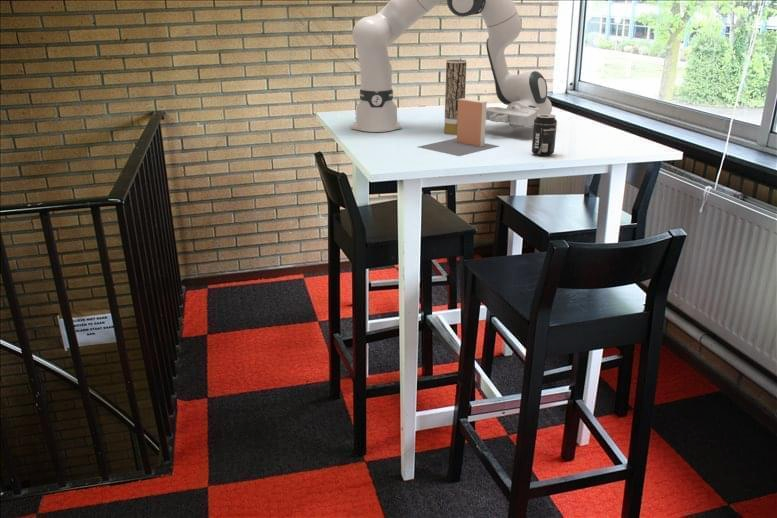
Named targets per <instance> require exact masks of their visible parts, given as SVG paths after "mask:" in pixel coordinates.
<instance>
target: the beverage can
mask: <svg viewBox="0 0 777 518" xmlns="http://www.w3.org/2000/svg"><path fill="white" fill-rule="evenodd" d="M557 126H558V121H557V119H556V115H555V114H552V113H551V114H538V115H537V117H536V119H535V120H534V126H533V127H532V139H531V140H532V141H531V153H532V154H533V155H534V156H536V155H538V157H550V156H551V155H553V154H554V153H555V147H556V146H555V145H556V137H557V136H556V135H557Z"/></svg>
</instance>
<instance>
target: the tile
mask: <svg viewBox="0 0 777 518" xmlns="http://www.w3.org/2000/svg"><path fill="white" fill-rule="evenodd" d="M486 108H487V101H484V100H476V99H470V98H465V99H464V98H461V99H458V121H457V135H456V138H457V142H460V143H465V144H470V145H475V146H480V147H481V146H484V143H486V142H485V141H486V124H487V123H486V122H487V120H486Z"/></svg>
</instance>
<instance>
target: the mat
mask: <svg viewBox="0 0 777 518" xmlns="http://www.w3.org/2000/svg"><path fill="white" fill-rule="evenodd" d="M499 147H500V145H495V144H491V143H486V142H485V143H484V146H481V147H480V146H475V145H470V144H465V143H460V142H457V137H456V138H450V139H447V140H443V141H437V142H433V143H429V144H428V143H427V144H423V145H419V146H417V148H418V149H419V148H420V149H425V150H429V151H434V152H438V153H443V154H447V155H451V156H456V157H462V156H465V155H470V154H474V153H479V152H481V151H486V150H490V149H494V148H499Z"/></svg>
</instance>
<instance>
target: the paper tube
mask: <svg viewBox="0 0 777 518" xmlns="http://www.w3.org/2000/svg"><path fill="white" fill-rule="evenodd" d="M445 65H446V66H445V69H446V71H445V91H444V92H445V93H444V94H445V96H444V97H445V99H444V127H443V128H444V129H443V130H444V134H445V135H449V136H450V135H452V136H457V121H458V99H461V98H464V99H466V82H467V81H466V80H467V59H446V64H445Z"/></svg>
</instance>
